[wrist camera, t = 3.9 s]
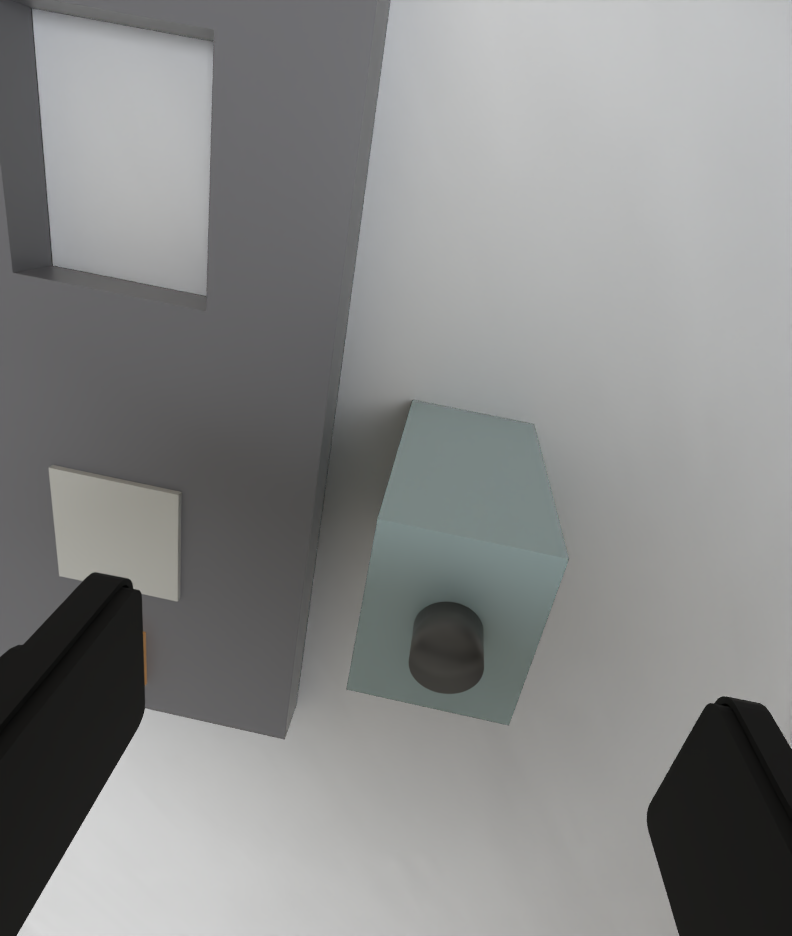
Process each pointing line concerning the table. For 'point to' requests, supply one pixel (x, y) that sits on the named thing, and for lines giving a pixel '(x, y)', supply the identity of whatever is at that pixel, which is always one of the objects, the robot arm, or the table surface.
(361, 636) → the block
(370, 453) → the table surface
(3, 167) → the outlet plate
